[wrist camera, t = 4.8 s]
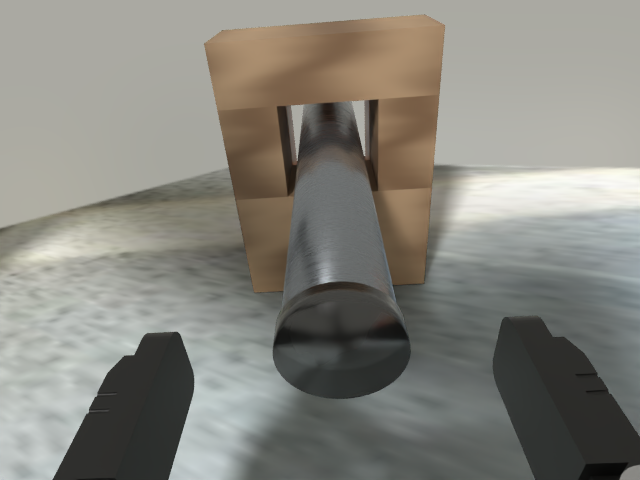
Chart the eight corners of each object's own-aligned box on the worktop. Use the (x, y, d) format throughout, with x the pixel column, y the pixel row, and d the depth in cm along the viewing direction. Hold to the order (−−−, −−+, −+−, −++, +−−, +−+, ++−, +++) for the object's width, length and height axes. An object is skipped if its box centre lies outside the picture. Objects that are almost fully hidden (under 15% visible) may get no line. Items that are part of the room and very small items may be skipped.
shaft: (407, 395, 11) (414, 299, 10) (281, 401, 12) (263, 307, 10) (354, 130, 29) (352, 78, 27) (304, 133, 29) (299, 82, 27)
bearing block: (254, 292, 25) (204, 43, 18) (261, 253, 29) (222, 30, 21) (423, 283, 25) (444, 25, 18) (411, 245, 28) (424, 14, 21)
